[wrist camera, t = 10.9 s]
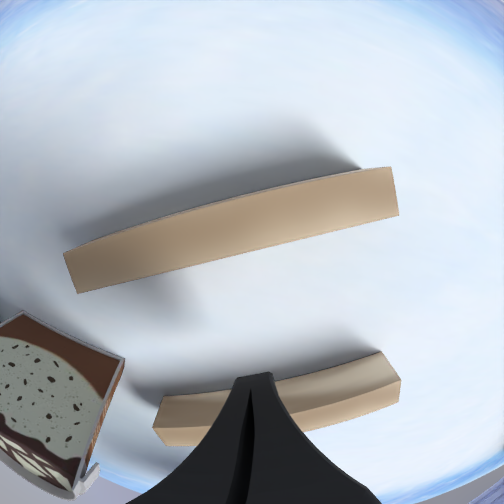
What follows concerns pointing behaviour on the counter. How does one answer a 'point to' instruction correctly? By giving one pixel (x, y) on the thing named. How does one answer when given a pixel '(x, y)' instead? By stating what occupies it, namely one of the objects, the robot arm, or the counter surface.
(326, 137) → the counter surface
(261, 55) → the counter surface
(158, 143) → the counter surface
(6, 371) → the food container
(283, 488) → the robot arm
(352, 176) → the pair of beige bars
